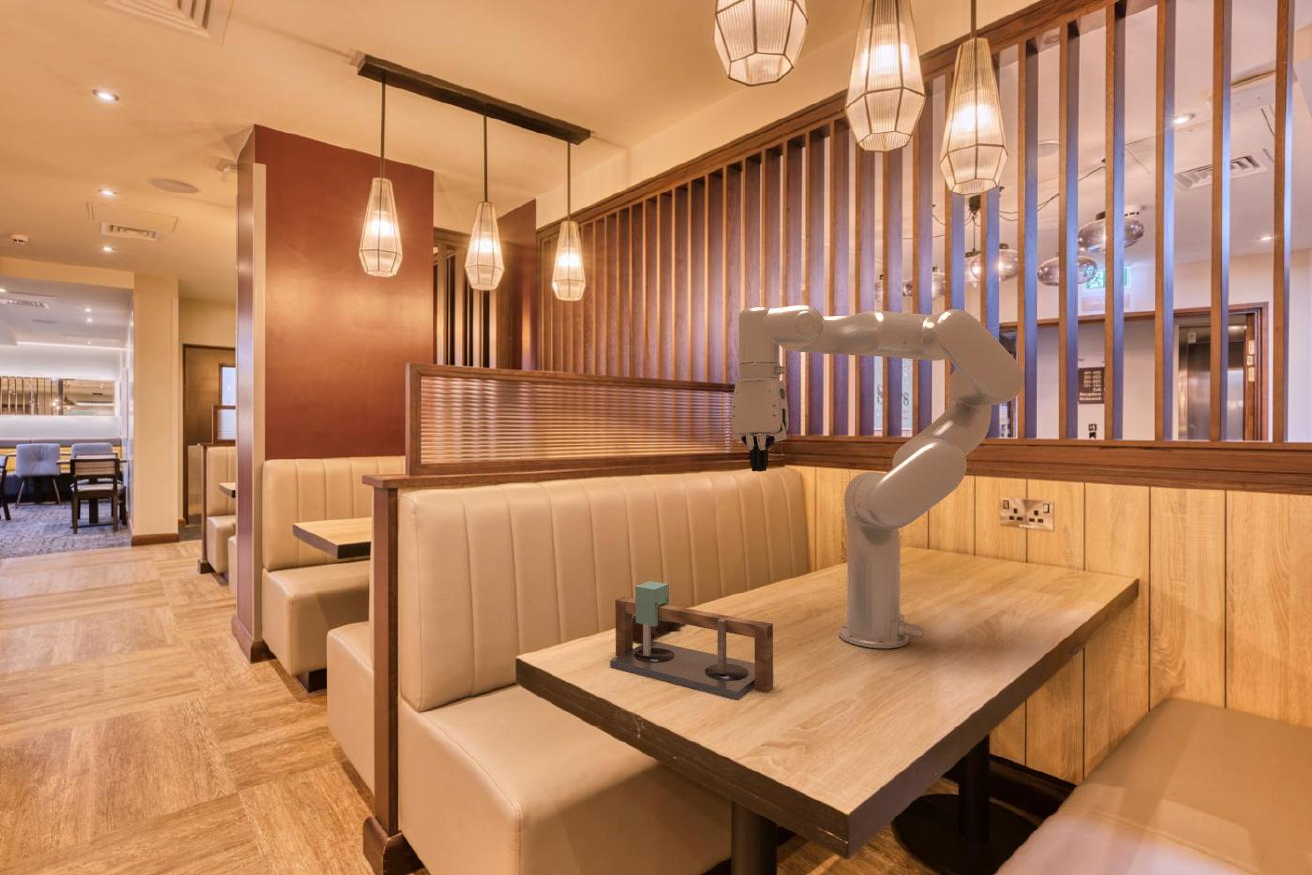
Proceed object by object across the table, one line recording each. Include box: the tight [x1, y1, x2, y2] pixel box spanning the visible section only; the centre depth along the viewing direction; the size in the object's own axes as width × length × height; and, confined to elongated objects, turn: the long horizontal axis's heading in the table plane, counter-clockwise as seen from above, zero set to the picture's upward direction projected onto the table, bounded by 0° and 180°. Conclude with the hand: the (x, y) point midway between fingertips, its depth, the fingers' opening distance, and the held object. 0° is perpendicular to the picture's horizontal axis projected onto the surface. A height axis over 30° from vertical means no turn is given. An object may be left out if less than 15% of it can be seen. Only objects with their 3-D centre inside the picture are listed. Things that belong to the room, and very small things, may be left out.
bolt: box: [633, 614, 682, 645], centre depth 129 cm, size 6×5×15 cm
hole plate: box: [609, 640, 755, 701], centre depth 109 cm, size 24×12×1 cm, turn 56°
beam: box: [614, 596, 774, 693], centre depth 108 cm, size 29×3×10 cm, turn 56°
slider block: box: [634, 580, 670, 656], centre depth 113 cm, size 4×4×12 cm
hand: (759, 470), depth 124 cm, fingers closed
